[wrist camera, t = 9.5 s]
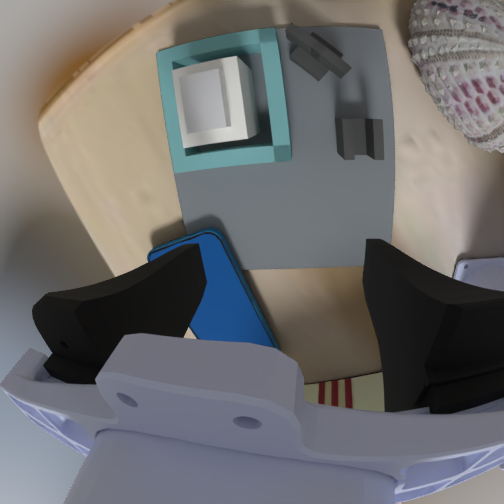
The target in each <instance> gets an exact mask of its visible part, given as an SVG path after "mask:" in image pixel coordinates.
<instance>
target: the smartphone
mask: <svg viewBox="0 0 504 504" xmlns="http://www.w3.org/2000/svg"><path fill="white" fill-rule="evenodd" d="M191 243H199V246H200V251H201V256H202V261H203V265H204V270H205V274H206V279H207V285H206V288H205V292H204V295H203V298H202V301H201V303H200V305H199V307H198V309H197V311H196V313H195V315H194V317H193V319H192V321H191V323H190V325H189V328H190V329H191V331H192V332H193V334H194V335H195V337H196V338H197V339H200V340H212V341H227V342H246V343H253V344H258V345H262V346H267V347H272V348H276V349H278V350H279V351H281V350H280V348H279V346H278V344H277V342H276V340H275V338H274V336H273V334H272V332H271V330H270V328H269V326H268V324H267V322H266V320H265V318H264V316H263V314H262V312H261V310H260V308H259V306H258V304H257V302H256V300H255V298H254V296H253V294H252V292H251V290H250V288H249V286H248V284H247V282H246V280H245V278H244V276H243V274H242V272H241V270H240V268H239V266H238V264H237V262H236V260H235V258H234V256H233V253H232V251H231V249H230V247H229V245H228V243H227V241H226V239H225V237H224V235H223V234H222V232H221V231H219V230H218V229H216V228H212V227H209V228H205V229H202V230H199V231H197V232H194V233H191V234H188V235H186V236H183V237H180V238H178V239H175V240H172V241H170V242H167V243H164V244H162V245H159V246H156V247H154V248H153V249H152V250H151V251H150V252H149V253H148V255H147V260H148V262H150V261H152V260H154V259H156V258H157V257H159V256H161V255H163V254H165V253H167V252H169V251H171V250H173V249H175V248H177V247H179V246H181V245H184V244H191Z"/></svg>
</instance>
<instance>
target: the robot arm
mask: <svg viewBox="0 0 504 504" xmlns="http://www.w3.org/2000/svg"><path fill="white" fill-rule="evenodd" d="M466 264H467V265H466ZM465 265H466V266H465ZM464 266H465V267H464ZM362 281H363V287H364V293H365V299H366V302H367V306H368V309H369V312H370V316H371V319H372V322H373V326H374V329H375V332H376V336H377V340H378V344H379V349H380V356H381V364H382V374H383V385H384V412H378V411H368V410H359V409H351V408H343V407H336V406H330V405H323V404H317V403H312V402H306V401H305V398H304V376H303V374H302V372H301V369H300V367H299V364H298V362H296V361H295V360H293V359H292V358H290V357H288V356H287V355H285V354H284V353H282V352H281V351H279V350H278V349H276V348H272V347H267V346H262V345H258V344H253V343H246V342H227V341H212V340H200V339H188V338H183V337H184V335H185V333H186V331H187V329H188V327H189V325H190V323H191V321H192V319H193V317H194V315H195V313H196V311H197V309H198V307H199V305H200V303H201V301H202V298H203V295H204V292H205V288H206V285H207V279H206V274H205V270H204V265H203V261H202V256H201V251H200V246H199V243H191V244H184V245H181V246H179V247H177V248H175V249H173V250H171V251H169V252H167V253H165V254H163V255H161V256H159V257H157V258H156V259H154V260H152V261H150V262H148V263H146V264H144V265H142V266H140V267H138V268H136V269H134V270H132V271H129V272H127V273H125V274H122V275H120V276H117V277H115V278H112V279H109V280H106V281H103V282H100V283H97V284H93V285H89V286H85V287H81V288H76V289H71V290H65V291H58V292H50V293H47V294H45V295H44V296H43V297H42V298H41V299H40V300H39V301H38V302H37V303H36V304H35V305H34V306H33V309H32V314H33V320H34V322H35V325H36V327H37V329H38V331H39V332H40V334H41V335H42V337H43V339H44V341H45V342H46V344H47V345H48V347H49V348H50V350H51V351H52V354H51V356H50V357H49V358H48V357H47V356H46V355H45V354H43V353H41V352H39V351H36V350H34V349H32V348H29V349H28V350H27V351H26V353H25V354H24V355H23V356H22V357H21V359H20V360H19V361H18V362H17V364H16V365H15V366H14V367H13V368H12V370H11V371H10V372H9V374H8V375H7V376H6V377H5V379H4V380H3V381H2V383H1V384H0V387H1V388H2V390H3V391H4V392H5V393H6V394H7V395H8V397H9V398H10V399H11V400H12V401H13V402H14V403H15V404H16V405H17V406H18V408H20V409H21V411H22V412H23V413H24V414H25V415H26V416H27V417H28V418H29V419H30V420H31V421H32V422H33V423H34V424H36V425H38V426H39V427H41V428H42V429H43V430H45V431H47V432H48V433H49V434H51V435H52V436H54V437H55V438H57V439H59V440H60V441H62V442H63V443H65V444H66V445H68V446H69V447H71V448H73V449H74V450H76V451H78V452H79V453H81V454H83V455H84V456H86V459H85V461H84V463H83V465H82V467H81V469H80V471H79V473H78V475H77V477H76V479H75V481H74V483H73V485H72V487H71V489H70V491H69V493H68V496H67V498H66V500H65V502H64V504H397V503H401V502H405V501H408V500H412V499H416V498H419V497H422V496H426V495H428V494H432V493H435V492H438V491H441V490H443V489H446V488H449V487H451V486H454V485H456V484H459V483H461V482H464V481H466V480H469V479H471V478H473V477H475V476H478V475H480V474H482V473H484V472H486V471H488V470H490V469H492V468H494V467H496V466H498V465H499V468H500V469H501V470H504V257H499V258H484V259H469V260H460V261H459V262H458V263H457V265H456V269H455V273H454V277H453V278H450V277H448V276H445V275H443V274H441V273H439V272H437V271H435V270H432V269H430V268H428V267H427V266H425V265H423V264H421V263H419V262H418V261H416V260H414V259H413V258H411V257H409V256H408V255H406V254H405V253H403V252H402V251H400V250H399V249H397V248H395V247H394V246H392V245H391V244H389V243H388V242H386V241H384V240H382V239H366V248H365V260H364V270H363V280H362Z"/></svg>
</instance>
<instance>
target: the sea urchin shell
mask: <svg viewBox="0 0 504 504" xmlns="http://www.w3.org/2000/svg"><path fill="white" fill-rule="evenodd" d="M411 12H412V13H411V14H410V16H411V18H410V19H409V23H410V25H409V26H408V28H409V30H410V33H411V38H410V39H409V41H408V47H409V48H410V50H411V51H412V53H413V54H412V57H411V60H412V61H413V62H414V63H415V64H416V65H417V66H418V68H419V71H420V74H421V78H420V80H421V81H422V82H423V83H424V85H425V91H426V92H427V93H428V94H429V95H431V96H432V97H433V102H434V103H435V104H436V105H437V106H438V111H440V112H442V113H443V115H444V117H445V118H447V120H448V122H450V123H452V124H453V125H454V128H455V129H458V130H461V132H462V133H464V136H465V138H467V140H468V143H469V144H474V145H475V147H476V148H481V149H482V151H483V152H484V151H486V150H487V151H488V152H489V153H491V152H492V151H495V150H498V151H499V152H501V153H504V2H503V1H502V0H416V3H414V7H413V8H412V9H411Z"/></svg>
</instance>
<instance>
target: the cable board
mask: <svg viewBox="0 0 504 504" xmlns="http://www.w3.org/2000/svg"><path fill="white" fill-rule="evenodd" d="M156 53H157V54H156V58H157V66H158V75H159V83H160V91H161V98H162V105H163V112H164V118H165V125H166V131H167V137H168V143H169V149H170V155H171V160H172V166H173V171H174V177H175V182H176V187H177V192H178V197H179V202H180V206H181V211H182V216H183V221H184V225H185V230H186V234H187V235H188V234H191V233H194V232H197V231H199V230H202V229H205V228H209V227H212V228H216V229H218V230H219V231H221V232H222V234H223V235H224V237H225V239H226V241H227V243H228V245H229V247H230V249H231V251H232V253H233V256H234V258H235V260H236V262H237V264H238V266H239V268H240V270H256V269H293V268H323V267H350V266H364V260H365V248H366V239H382V240H384V241H386V242H388V243H389V244H391V237H392V225H393V211H394V190H395V138H394V118H393V104H392V93H391V84H390V75H389V68H388V61H387V55H386V48H385V43H384V37H383V32H382V29H373V28H360V27H339V26H312V27H297V26H296V25H294V24H293V23H291V24H290V25H289V26H288V27H287V28H278V29H275V27H271V28H262V29H254V30H247V31H241V32H235V33H229V34H224V35H219V36H214V37H210V38H205V39H201V40H197V41H193V42H189V43H186V44H182V45H178V46H175V47H172V48H168V49H165V50H162V51H159V52H156ZM233 56H237V57H238V58H239V59H240V60H242V61H243V62H244V63H245V64H246V65H247V66H248V67H249V68H250V69H251V70H252V72H253V80H254V87H255V94H256V102H257V109H258V117H259V125H260V134H257V135H255V136H253V137H251V138H248V139H242V140H234V141H226V142H219V143H212V144H206V145H200V146H194V147H188V148H183V142H182V136H181V130H180V124H179V117H178V111H177V104H176V97H175V90H174V83H173V75H172V70H175V69H179V68H183V67H186V66H190V65H194V64H199V63H203V62H207V61H212V60H217V59H222V58H227V57H233Z"/></svg>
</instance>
